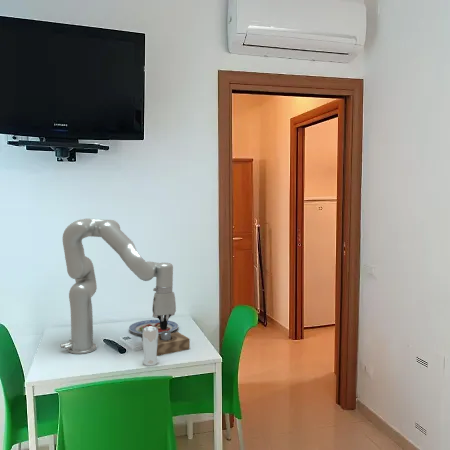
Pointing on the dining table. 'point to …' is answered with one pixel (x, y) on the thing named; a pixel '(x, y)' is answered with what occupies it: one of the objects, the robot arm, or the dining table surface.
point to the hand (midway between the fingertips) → (163, 328)
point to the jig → (173, 344)
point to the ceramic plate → (140, 325)
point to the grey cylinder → (165, 335)
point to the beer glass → (150, 345)
